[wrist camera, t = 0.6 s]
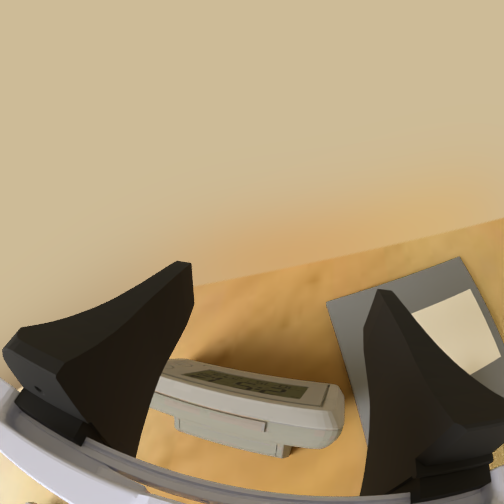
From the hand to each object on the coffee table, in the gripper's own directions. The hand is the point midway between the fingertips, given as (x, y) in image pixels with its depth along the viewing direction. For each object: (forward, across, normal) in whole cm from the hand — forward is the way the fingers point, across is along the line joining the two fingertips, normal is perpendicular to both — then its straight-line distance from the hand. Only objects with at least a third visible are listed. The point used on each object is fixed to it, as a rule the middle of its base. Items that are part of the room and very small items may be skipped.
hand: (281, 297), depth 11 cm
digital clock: (+5, +1, +17) cm, 18 cm away
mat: (+7, -15, +12) cm, 21 cm away
